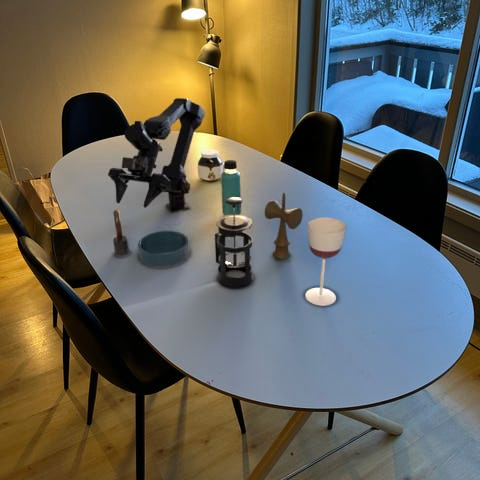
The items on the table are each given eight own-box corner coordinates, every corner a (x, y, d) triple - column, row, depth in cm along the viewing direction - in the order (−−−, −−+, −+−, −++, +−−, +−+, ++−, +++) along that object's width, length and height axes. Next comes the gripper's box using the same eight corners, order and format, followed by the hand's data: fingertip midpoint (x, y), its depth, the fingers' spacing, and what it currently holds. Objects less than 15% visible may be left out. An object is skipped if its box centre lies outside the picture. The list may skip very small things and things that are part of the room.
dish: (131, 252, 131) (129, 239, 130) (174, 238, 139) (173, 226, 137) (152, 273, 121) (151, 260, 119) (198, 257, 128) (197, 244, 127)
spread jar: (196, 182, 181) (195, 154, 176) (203, 172, 191) (202, 146, 186) (225, 183, 179) (224, 156, 174) (230, 174, 189) (230, 147, 184)
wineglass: (300, 288, 115) (304, 218, 105) (333, 286, 115) (340, 216, 106) (306, 307, 107) (312, 234, 98) (342, 305, 108) (350, 232, 99)
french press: (262, 279, 118) (263, 199, 108) (238, 294, 112) (237, 212, 102) (230, 263, 125) (228, 187, 115) (205, 277, 119) (201, 198, 109)
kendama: (288, 266, 124) (291, 200, 115) (262, 254, 130) (263, 191, 121) (301, 258, 128) (305, 194, 118) (275, 247, 133) (277, 184, 124)
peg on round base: (116, 250, 132) (109, 207, 126) (130, 250, 133) (124, 207, 126) (114, 257, 129) (107, 213, 122) (128, 257, 129) (122, 213, 123)
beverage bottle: (239, 222, 149) (238, 165, 139) (219, 220, 150) (218, 163, 141) (243, 213, 154) (242, 158, 145) (224, 212, 155) (222, 157, 146)
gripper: (106, 141, 131) (89, 190, 127) (162, 147, 125) (146, 199, 121) (125, 159, 141) (109, 204, 137) (177, 165, 135) (163, 213, 131)
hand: (130, 205), depth 131 cm, fingers open, 9 cm apart
